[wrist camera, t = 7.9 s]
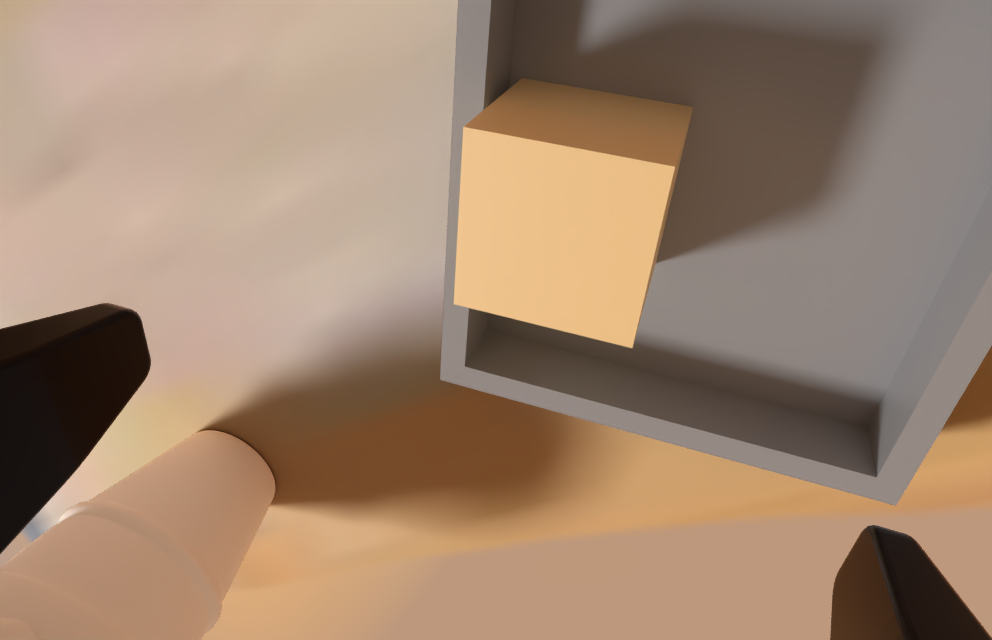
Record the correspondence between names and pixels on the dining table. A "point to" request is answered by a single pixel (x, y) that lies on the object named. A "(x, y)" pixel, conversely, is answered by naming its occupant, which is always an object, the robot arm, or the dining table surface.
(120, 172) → the dining table surface
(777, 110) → the dish
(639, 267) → the block
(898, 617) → the robot arm
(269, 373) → the dining table surface
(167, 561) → the soft serve ice cream cone
